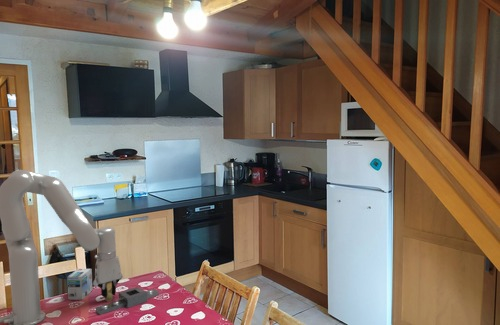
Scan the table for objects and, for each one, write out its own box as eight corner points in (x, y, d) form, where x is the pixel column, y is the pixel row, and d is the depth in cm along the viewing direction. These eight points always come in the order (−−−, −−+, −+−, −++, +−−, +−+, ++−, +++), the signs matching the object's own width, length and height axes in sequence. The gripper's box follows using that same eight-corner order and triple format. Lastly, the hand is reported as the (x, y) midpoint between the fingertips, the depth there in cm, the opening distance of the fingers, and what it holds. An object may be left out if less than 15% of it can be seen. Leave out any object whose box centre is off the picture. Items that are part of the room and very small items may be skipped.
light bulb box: (82, 300, 167) (81, 276, 166) (67, 300, 167) (66, 276, 167) (93, 290, 178) (92, 268, 177) (79, 290, 178) (78, 268, 177)
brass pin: (107, 302, 164) (105, 280, 163) (104, 300, 167) (103, 278, 166) (114, 300, 166) (113, 278, 166) (111, 297, 169) (110, 276, 168)
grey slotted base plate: (102, 316, 151) (101, 307, 151) (93, 309, 157) (93, 300, 157) (161, 296, 169) (161, 287, 169) (151, 290, 176) (151, 282, 176)
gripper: (91, 261, 157) (93, 304, 158) (128, 252, 168) (130, 292, 169) (84, 257, 162) (86, 298, 163) (121, 249, 173) (122, 287, 175)
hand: (108, 295), depth 166 cm, fingers closed on brass pin, 3 cm apart
